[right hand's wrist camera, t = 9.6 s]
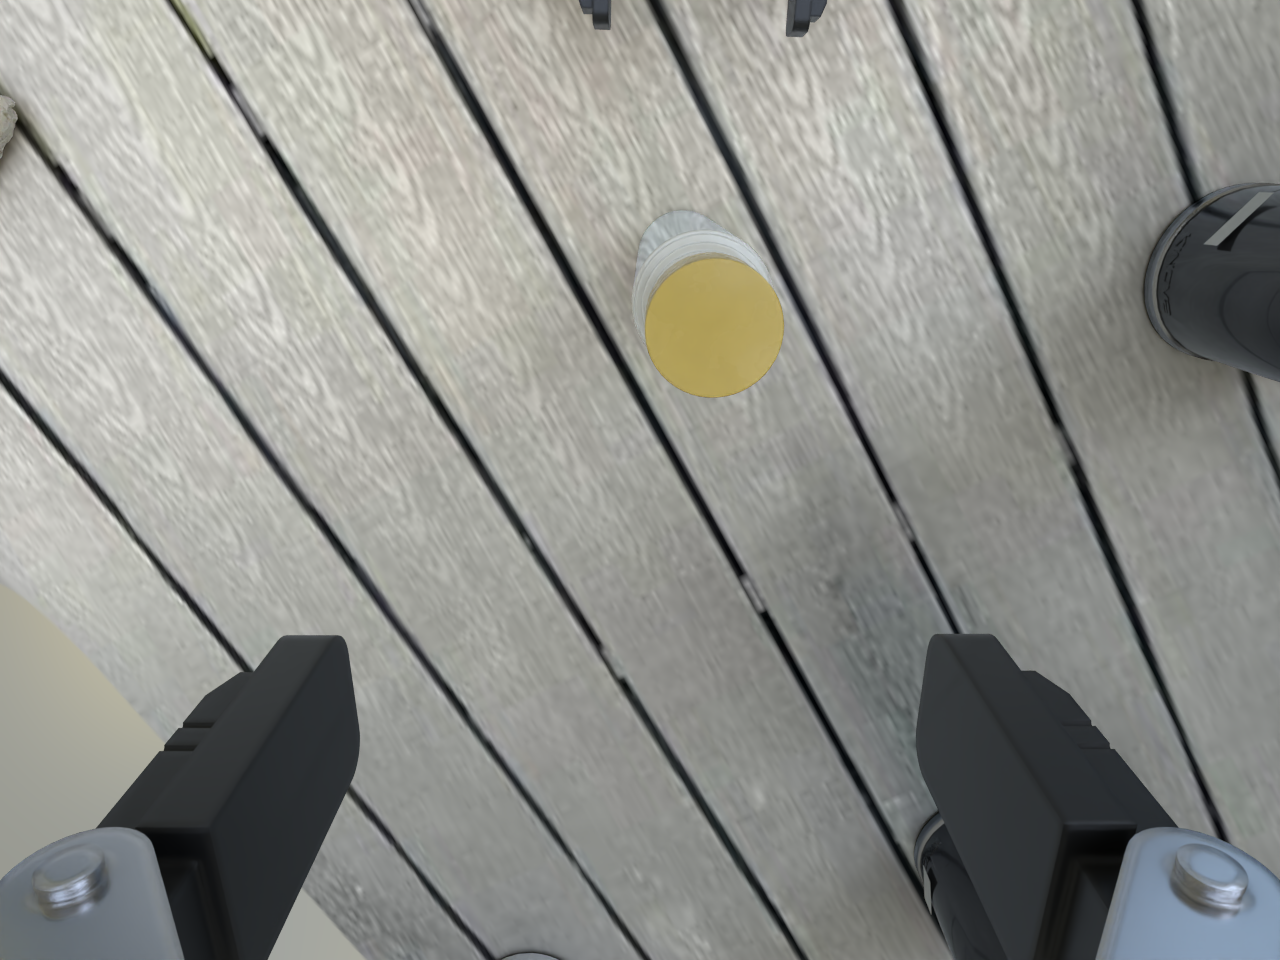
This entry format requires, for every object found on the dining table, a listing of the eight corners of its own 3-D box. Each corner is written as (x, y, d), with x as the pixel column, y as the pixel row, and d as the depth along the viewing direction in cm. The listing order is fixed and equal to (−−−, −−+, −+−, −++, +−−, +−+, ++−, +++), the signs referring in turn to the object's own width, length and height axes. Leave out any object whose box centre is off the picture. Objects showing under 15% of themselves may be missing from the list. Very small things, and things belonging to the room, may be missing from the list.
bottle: (669, 319, 47) (687, 440, 25) (620, 244, 46) (595, 304, 24) (743, 269, 46) (829, 350, 24) (695, 191, 45) (741, 203, 23)
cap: (689, 404, 27) (693, 423, 25) (619, 300, 26) (617, 311, 24) (797, 335, 26) (810, 348, 24) (729, 224, 25) (736, 229, 23)
